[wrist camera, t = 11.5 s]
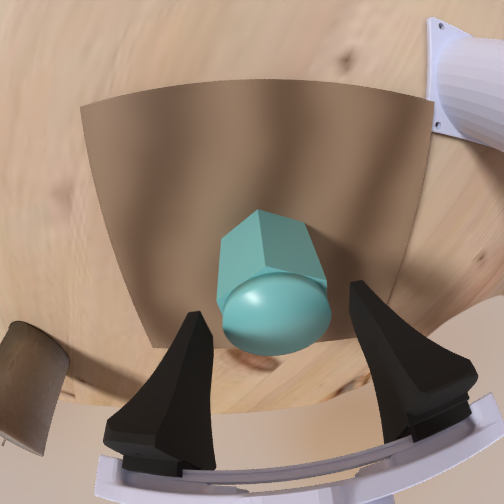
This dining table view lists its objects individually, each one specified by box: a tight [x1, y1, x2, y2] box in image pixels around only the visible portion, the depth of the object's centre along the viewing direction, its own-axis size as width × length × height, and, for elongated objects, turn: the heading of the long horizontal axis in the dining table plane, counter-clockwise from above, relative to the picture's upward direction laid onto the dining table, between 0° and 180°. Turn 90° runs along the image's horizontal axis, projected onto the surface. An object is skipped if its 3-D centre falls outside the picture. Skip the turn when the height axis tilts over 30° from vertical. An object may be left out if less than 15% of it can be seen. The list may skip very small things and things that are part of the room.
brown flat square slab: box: [80, 79, 435, 349], centre depth 18 cm, size 20×20×1 cm
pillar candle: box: [0, 321, 69, 457], centre depth 20 cm, size 10×10×15 cm
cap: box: [216, 209, 331, 356], centre depth 15 cm, size 5×6×6 cm
